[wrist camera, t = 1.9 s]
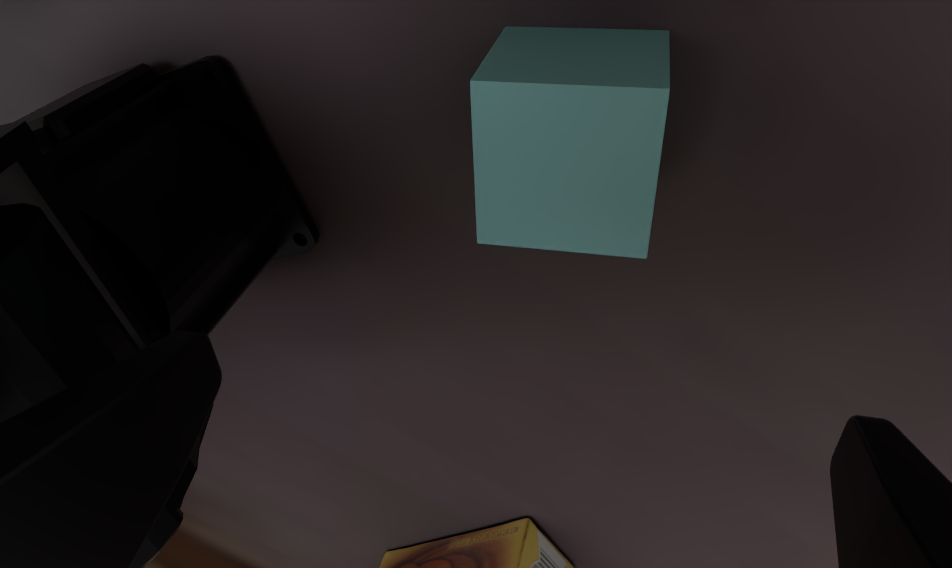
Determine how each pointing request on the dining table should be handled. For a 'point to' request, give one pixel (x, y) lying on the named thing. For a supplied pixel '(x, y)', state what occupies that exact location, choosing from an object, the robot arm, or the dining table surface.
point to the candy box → (483, 550)
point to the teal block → (570, 138)
